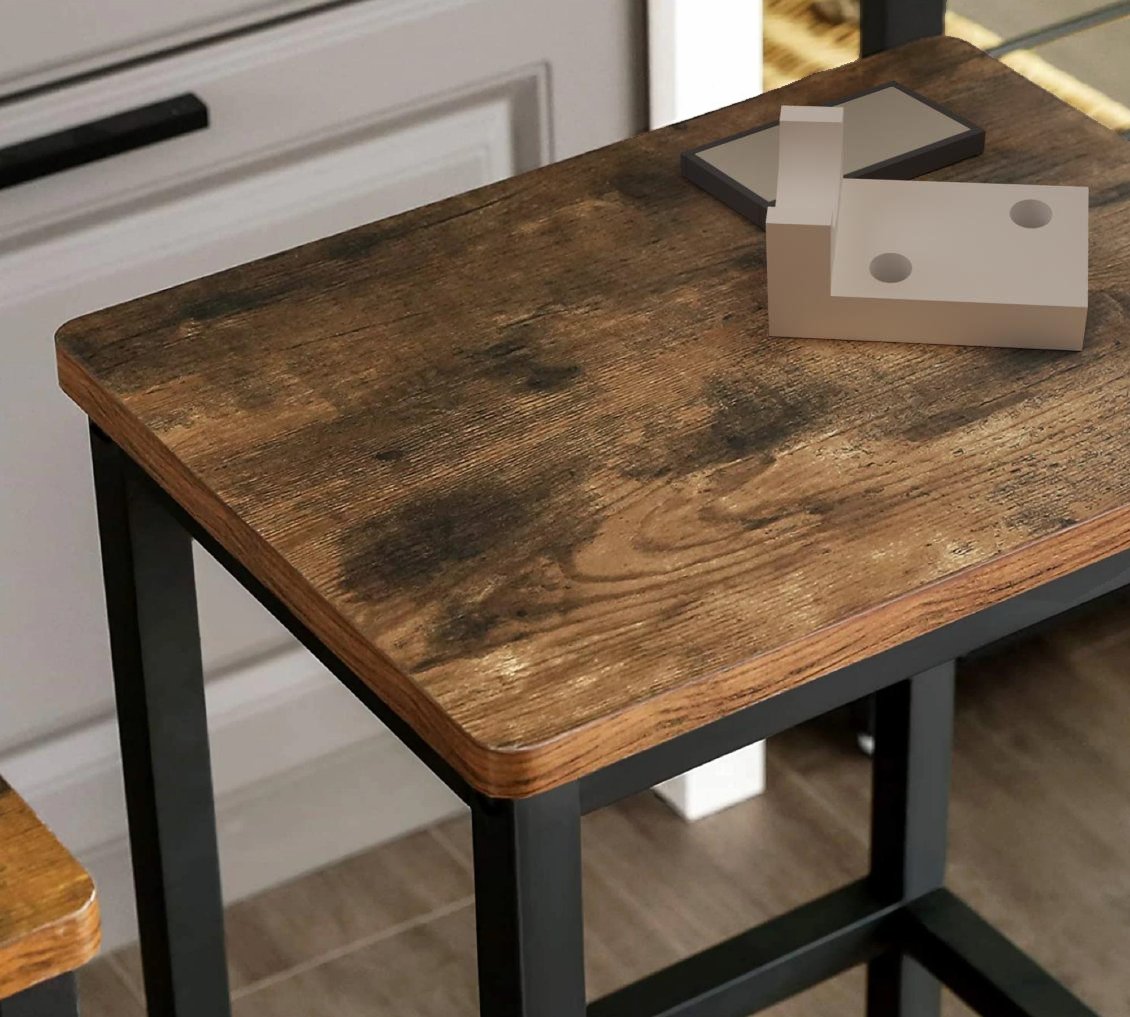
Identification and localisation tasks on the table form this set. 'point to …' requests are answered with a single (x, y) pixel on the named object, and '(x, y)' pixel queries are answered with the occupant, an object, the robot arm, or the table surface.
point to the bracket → (919, 252)
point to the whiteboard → (870, 148)
